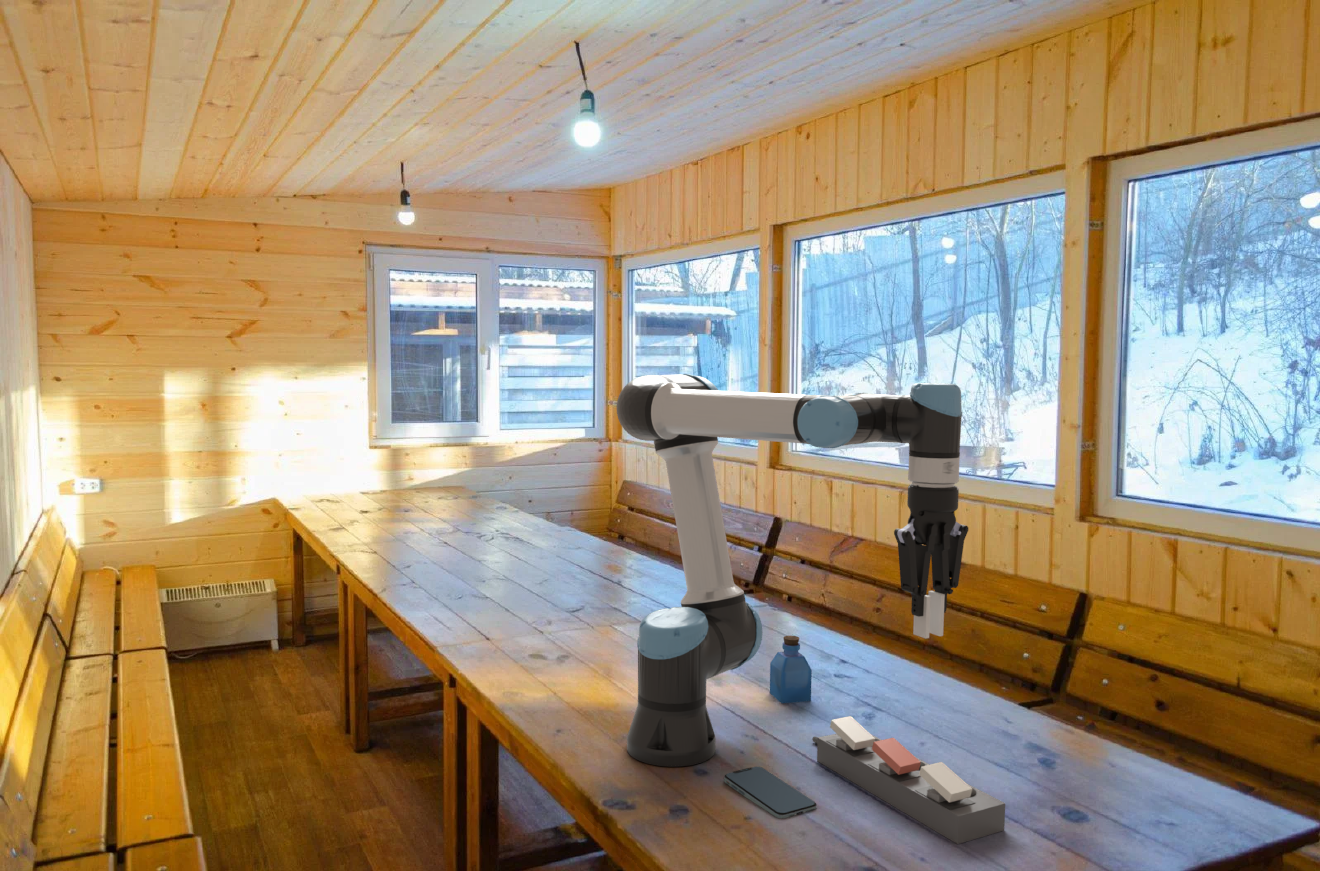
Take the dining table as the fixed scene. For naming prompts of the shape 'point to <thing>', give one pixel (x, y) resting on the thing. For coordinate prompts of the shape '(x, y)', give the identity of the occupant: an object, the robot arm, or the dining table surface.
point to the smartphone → (769, 792)
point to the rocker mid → (896, 756)
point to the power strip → (913, 792)
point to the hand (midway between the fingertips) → (928, 634)
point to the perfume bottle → (790, 673)
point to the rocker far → (852, 732)
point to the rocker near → (945, 782)
